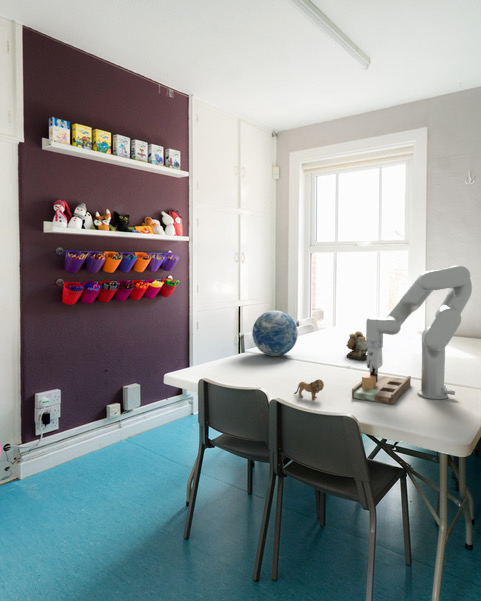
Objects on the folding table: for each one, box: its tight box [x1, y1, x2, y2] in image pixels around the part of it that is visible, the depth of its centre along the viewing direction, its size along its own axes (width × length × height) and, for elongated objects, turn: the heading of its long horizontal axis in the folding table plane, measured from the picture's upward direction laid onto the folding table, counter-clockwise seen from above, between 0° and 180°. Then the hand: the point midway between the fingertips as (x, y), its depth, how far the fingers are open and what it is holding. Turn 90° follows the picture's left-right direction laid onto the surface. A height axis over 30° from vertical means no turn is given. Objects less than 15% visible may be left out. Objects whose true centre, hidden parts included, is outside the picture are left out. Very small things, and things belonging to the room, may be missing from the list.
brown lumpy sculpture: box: [345, 331, 368, 362], centre depth 276 cm, size 18×12×17 cm, turn 30°
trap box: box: [351, 374, 411, 406], centre depth 205 cm, size 18×34×4 cm, turn 147°
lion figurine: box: [293, 378, 325, 401], centre depth 198 cm, size 15×5×9 cm, turn 58°
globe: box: [251, 310, 299, 357], centre depth 286 cm, size 30×30×30 cm
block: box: [361, 374, 376, 389], centre depth 202 cm, size 5×5×5 cm
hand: (373, 381), depth 206 cm, fingers closed
